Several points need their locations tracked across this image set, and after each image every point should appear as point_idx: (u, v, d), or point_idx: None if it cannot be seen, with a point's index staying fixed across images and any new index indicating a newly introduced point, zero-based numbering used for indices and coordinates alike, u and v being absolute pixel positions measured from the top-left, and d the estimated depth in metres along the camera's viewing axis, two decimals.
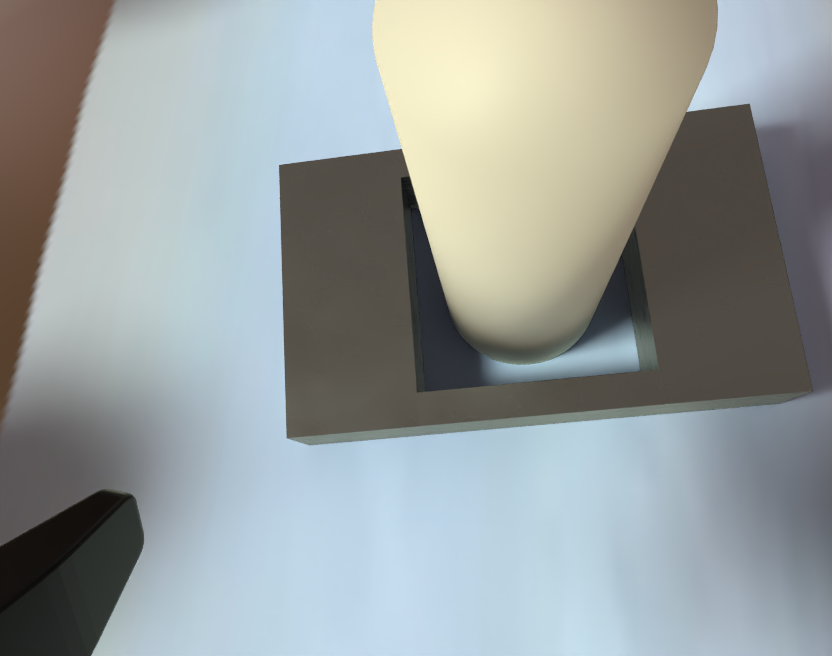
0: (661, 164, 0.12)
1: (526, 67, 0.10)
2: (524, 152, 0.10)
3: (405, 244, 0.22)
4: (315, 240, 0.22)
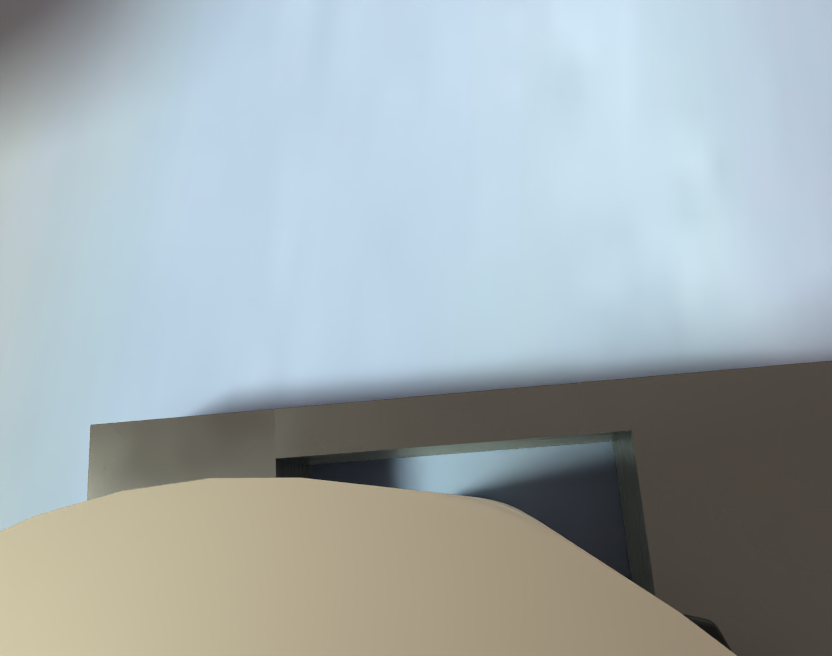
0: None
1: None
2: None
3: None
4: None
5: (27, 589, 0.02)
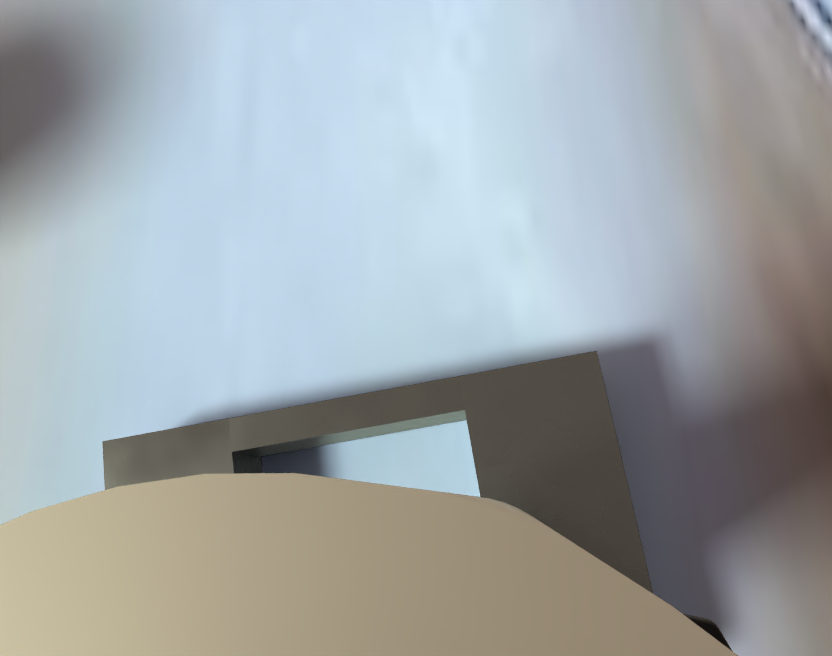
0: None
1: None
2: None
3: None
4: None
5: (23, 585, 0.02)
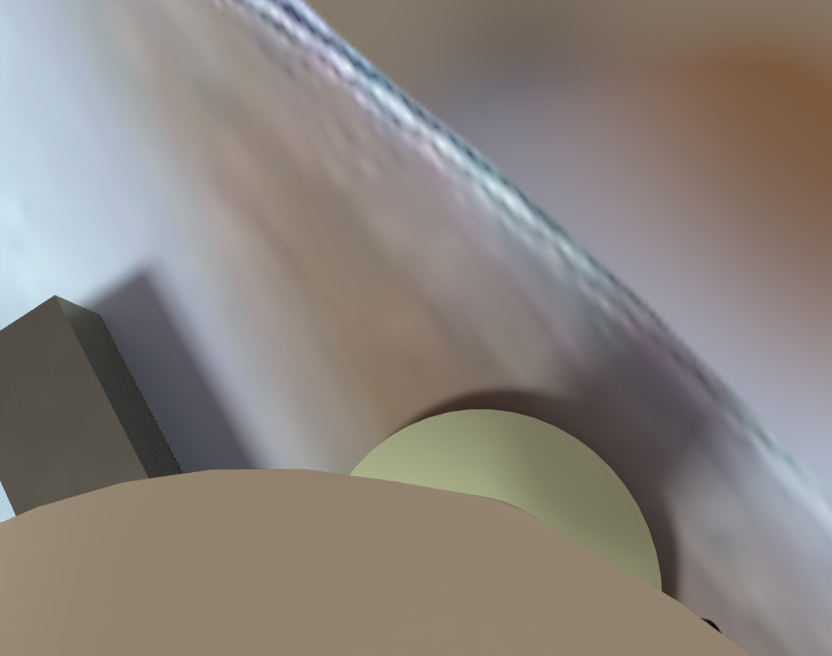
0: None
1: None
2: None
3: None
4: None
5: (28, 581, 0.02)
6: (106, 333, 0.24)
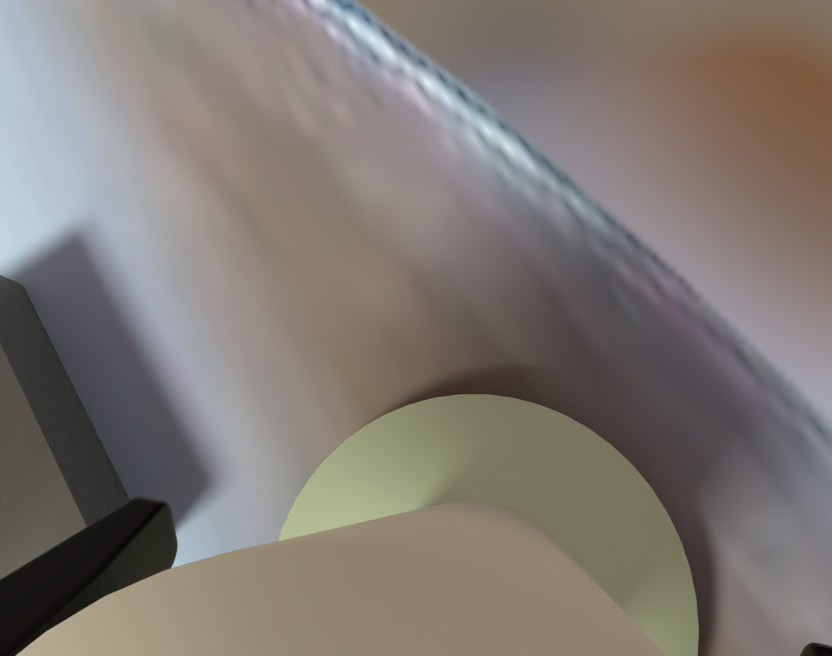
0: None
1: None
2: None
3: None
4: None
5: (161, 624, 0.03)
6: (29, 306, 0.21)
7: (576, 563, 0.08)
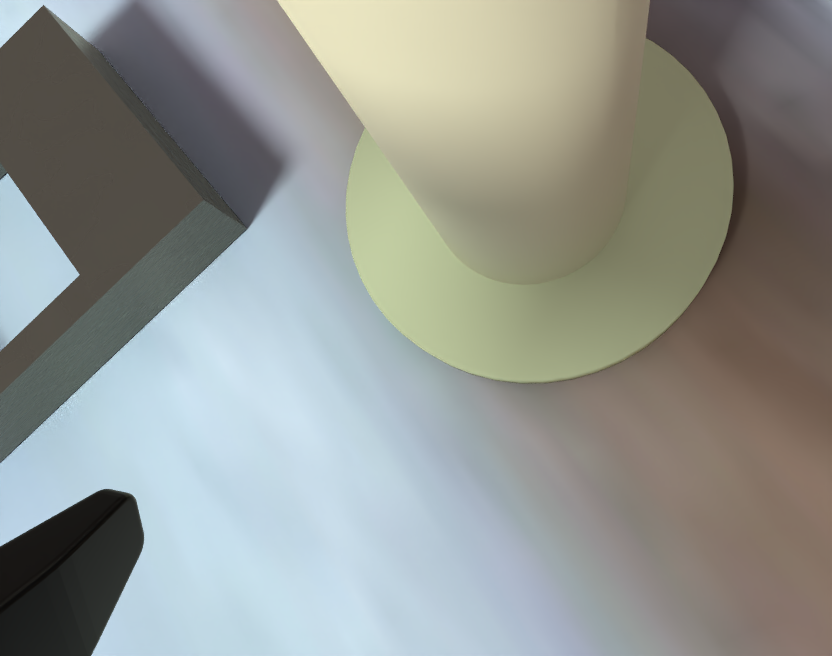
0: None
1: None
2: None
3: None
4: None
5: None
6: (107, 62, 0.24)
7: None
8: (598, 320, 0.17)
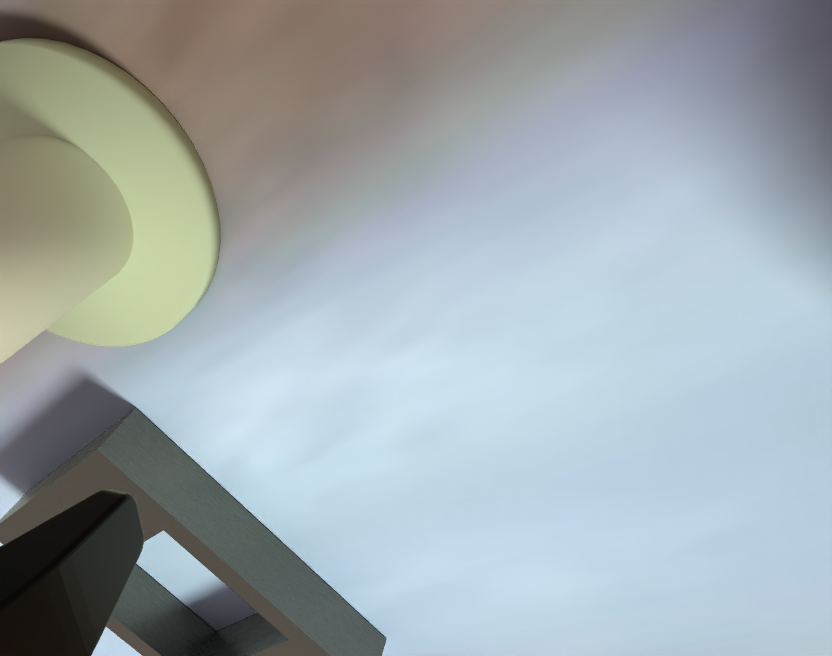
0: None
1: None
2: None
3: None
4: None
5: None
6: (34, 486, 0.31)
7: None
8: (150, 169, 0.21)
